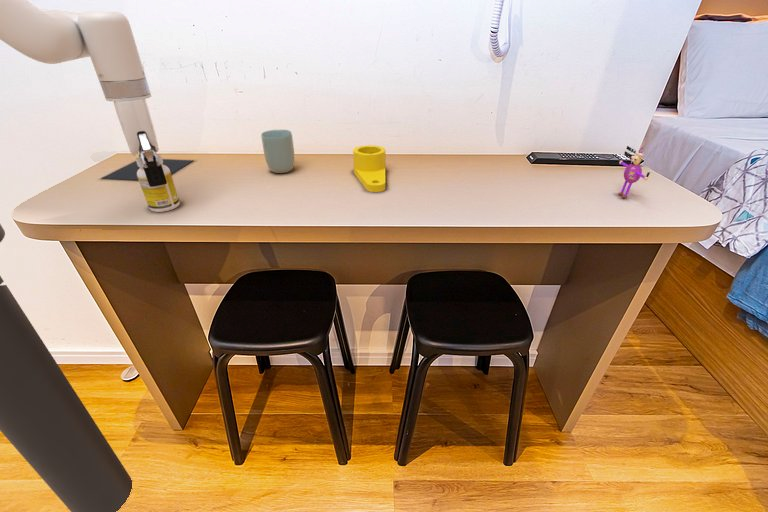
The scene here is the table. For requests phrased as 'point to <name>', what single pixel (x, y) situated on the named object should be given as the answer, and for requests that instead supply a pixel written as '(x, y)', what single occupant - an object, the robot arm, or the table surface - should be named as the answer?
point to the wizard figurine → (632, 170)
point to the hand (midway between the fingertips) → (155, 177)
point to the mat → (131, 169)
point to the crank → (370, 167)
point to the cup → (278, 150)
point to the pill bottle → (158, 189)
